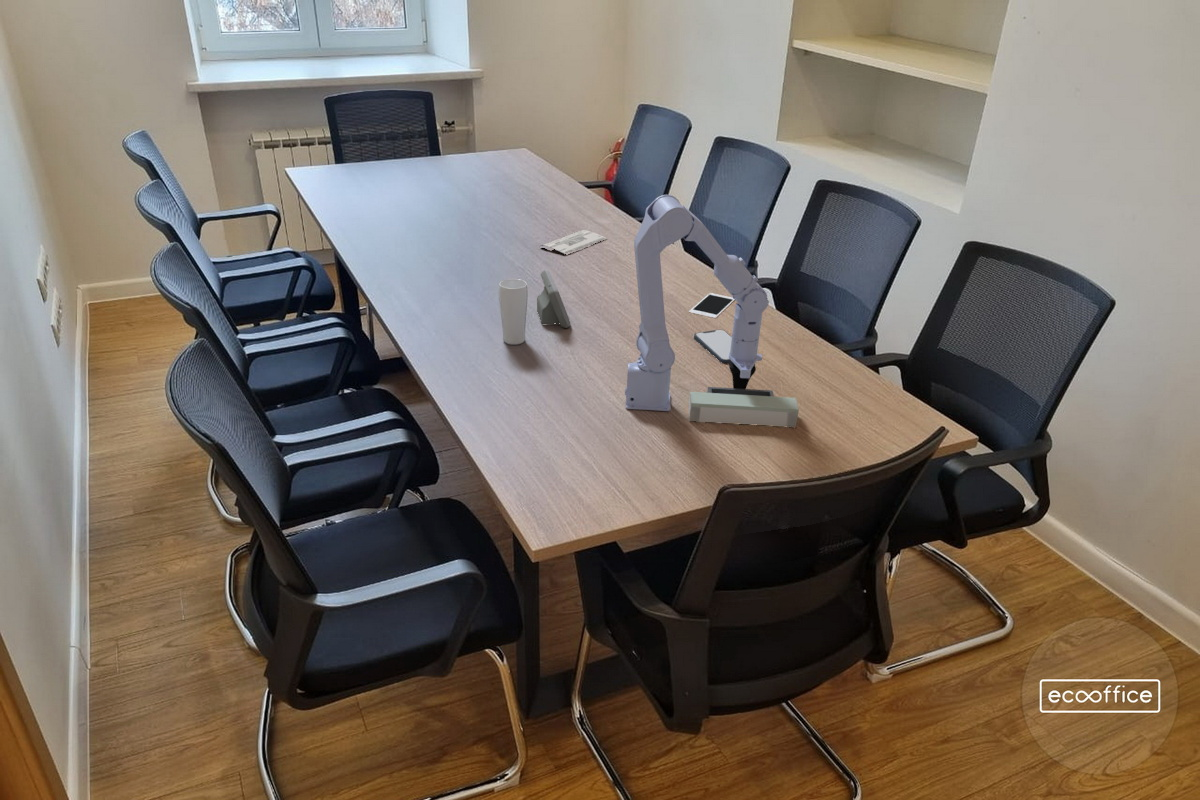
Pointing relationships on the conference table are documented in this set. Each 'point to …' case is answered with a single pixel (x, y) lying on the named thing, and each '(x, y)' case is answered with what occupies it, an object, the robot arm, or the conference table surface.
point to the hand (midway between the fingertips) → (738, 392)
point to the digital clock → (551, 303)
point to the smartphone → (716, 343)
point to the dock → (743, 409)
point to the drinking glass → (513, 310)
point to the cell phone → (712, 305)
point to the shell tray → (740, 391)
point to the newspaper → (575, 241)
